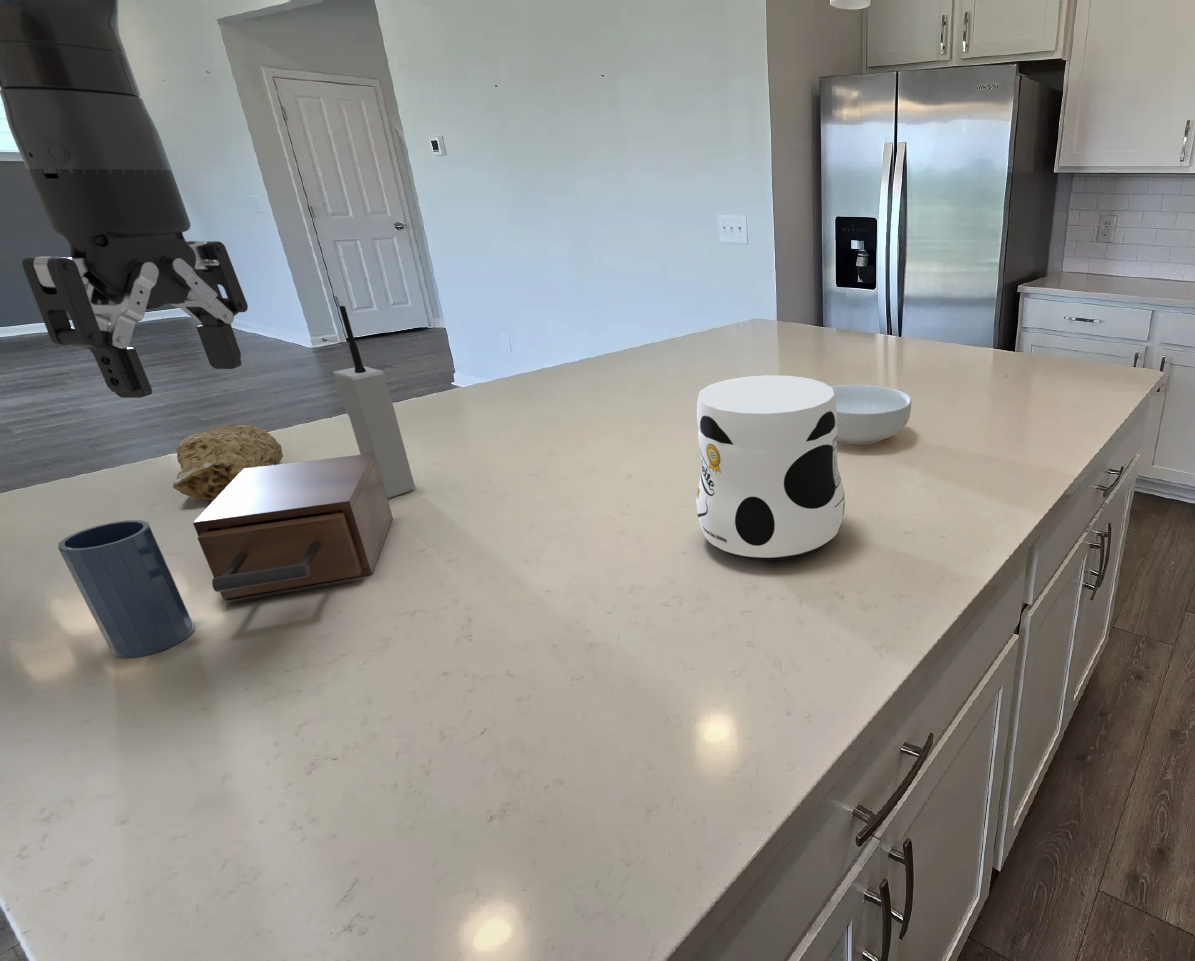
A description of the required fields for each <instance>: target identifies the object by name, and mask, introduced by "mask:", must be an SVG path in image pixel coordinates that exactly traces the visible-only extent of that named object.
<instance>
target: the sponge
mask: <svg viewBox="0 0 1195 961" xmlns="http://www.w3.org/2000/svg"><path fill="white" fill-rule="evenodd" d="M283 456H284V454H283V450H282V445H281V444H280V443H279V442H278V441H277V439H276V438H275V437H274V436H273V435H272V434H270V433H269V432H268V431H267V430H266V429H264V428H261V427H257V426H254V425H253V426H252V425H248V424H247V425H246V424H245V425H244V424H232V425H224V426H222V425H221V426H219V427H217V428H215V429H208V430H205V431H201V432H195V433H193V434H190V435H187V436H186V437H184V438H182V439H181V440H180V441H179V444H178V445H177V448H176V459H177V463H178V464H179V466H180V469H181V470H180V471H179V472H178V473H177V475H176V479H175V480H174V481H173V489H174V490H176V491H178V492H180V494H182V495H186V496H187V497H189V498H190V499H192V500H196V501H197V500H200V499H202V500H205V501H206V500H207V501H208V500H209V501H210V500H215V499H216V498H217V496H218V495H219V494H220V493H221V492H222V491H223V490H224V489H225V488H226V487H227V486H228V485H229V484H230V483H231V482H232V481H233V479H234V478H235V477H236V476H237V475H238V474H239V473H240V472H241V471H242V470H243V469H244V468H253V467H261V466H270V465H278V464H280V462H281V461H282V459H283Z"/></svg>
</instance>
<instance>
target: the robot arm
mask: <svg viewBox="0 0 1195 961" xmlns="http://www.w3.org/2000/svg"><path fill="white" fill-rule="evenodd" d="M140 92H141V91H140V90H139V86H138V84H137V81H136V79H135V76H134V73H133V70H132V68H131V64H130V61H129V58H128V56H127V52H126V50H125V46H124V43H123V42H122V39H121V35H120V30H119V0H0V98H1V101H2V104H3V109H4V113H5V117H6V121H7V125H8V127H9V131H10V133H11V135H12V138H13V140H14V142H15V145H16V147H17V150H18V152H19V155H20V157H21V159H22V162H23V164H24V166H25V168H26V171H27V173H28V176H29V178H30V180H31V182H32V185H33V187H34V191H35V192H36V194H37V196H38V199H39V201H40V204H41V206H42V208H43V211H44V213H45V215H46V217H47V220H48V222H49V225H50V228H51V229H52V230H53V231H54V232H55V233H57V234H59V235H61V236H63V237H64V238H65V240H67V242H68V244H69V251H70V252H69V257H59V256H34V257H33V256H28V257H25V258H24V259H23V260H22V262H21V265H22V268H23V271H24V273H25V276H26V279H27V282H28V285H29V287H30V289H31V291H32V295H33V297H34V300H35V303H36V305H37V307H38V310H39V313H40V315H41V318H42V320H43V323H44V327H45V328H46V331H47V335H48V337H49V339H50V341H51V342H52V343H54V344H55V345H57V346H72V347H80V348H85V349H88V350H89V351H90V352H91V353H92V354H93V357H94V359H95V361H96V364H97V366H98V369H99V370H100V373H101V375H102V378H103V379H104V382H105V384H106V386H107V388H108V390H110V391H111V392H112V393H115V395H116V396H118V397H119V398H123V399H140V398H145V397H148V396H150V395H152V393H153V389H152V385H151V384H150V382H149V379H148V376H147V374H146V372H145V369H144V367H143V364H142V361H141V359H140V356H139V354H138V352H137V350H136V347H129V346H130V344H131V340H132V337H133V333H134V329H135V325H136V324H137V323H139V322H141V321H142V320H143V319H144V317H145V314H146V310H153V309H158V308H161V307H162V306H164V305H170V306H173V307H175V308H179V309H180V310H182V311H183V312H184V313H185V314H187V315H188V316H189V317H190V318H191V319H193V321H195V322H196V323H197V324H200V325H196V326H195V327H196V328H195V329H196V330H197V333H198V336H199V338H200V341H201V344H202V347H203V350H204V352H205V355H206V358H207V360H208V363H209V365H210V366H211V368H213V369H216V370H233V369H237V368H240V367H241V366H242V360H241V358H242V354H241V353H242V352H241V349H240V347H239V344H238V342H237V338H236V335H235V333H234V330H233V327H232V323H233V322H234V320H235V316H236V315H238V314H239V313H246V312H247V311H248V309H249V306H248V302H247V300H246V296H245V295H244V292H243V289H242V287H241V284H240V281H239V279H238V277H237V273H236V271H235V268H234V266H233V263H232V260H231V258H230V255H229V253H228V250H227V247H226V246H225V244H224V243H223V242H221V241H218V240H217V241H216V240H215V241H214V240H213V241H212V240H210V241H208V240H207V241H206V240H188V241H187V240H186V239H185V237H184V234H183V233H184V232H185V233H186V232H188V231H189V230H190V229H191V226H192V224H191V221H190V218H189V215H188V213H187V209H186V207H185V204H184V200H183V199H182V196H181V193H180V190H179V187H178V184H177V181H176V178H175V175H174V172H173V170H172V167H171V164H170V161H169V158H168V156H167V153H166V150H165V147H164V144H163V141H162V139H161V136H160V134H159V130H158V129H157V127H156V125H155V123H154V121H153V119H152V117H151V115H150V113H149V111H148V109H147V107H146V105H145V103H144V100H143V98H142V96H141V93H140ZM85 285H87V286H86V287H85ZM219 286H221V287H222V288H223V289H224V293H225V294H226V297H223V295H222V291H221V289H220V287H219ZM110 302H111V303H113V304H110ZM68 315H69V316H68ZM69 318H70V319H69ZM70 320H71V322H72V324H71V322H70ZM72 325H73V327H72Z"/></svg>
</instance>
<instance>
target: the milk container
mask: <svg viewBox="0 0 1195 961" xmlns="http://www.w3.org/2000/svg"><path fill="white" fill-rule="evenodd" d="M696 423H697V428H698V432H697V437H698V447H699V453H700V475H699V476H700V477H699V482H698V486H697V490H696V492H697V493H696V503H695V505H696V514H697V518H698V522H699V525H700V528H701V532H702V534H703V536H704V537H705V538H706V540H707V541H708V542H709V544H710V545H711V546H712V547H714V548H715V549H717V550H719V551H721V552H723V553H725V554H727V555H729V556H731V557H738V558H743V559H745V560H749V561H771V562H773V561H781V560H787V559H788V560H789V559H795V558H800V557H802V556H804V555H808V554H811V553H813V552H816V551H818V550H820V549H821V548H822V547H825V546H826V545H827V544H829V543H830V542H832V541H833V540H834V538H835V537H836V536H837V534H838V532H839V530H840V529H841V528H842V524H843V519H844V515H845V509H846V494H845V488H844V485H843V480H842V478H841V477H842V476H841V474H840V470H839V466H838V465H839V464H838V440H837V431H838V429H837V425H836V424H837V408H836V400H835V395H834V392H833V389H832V387H830V385H828V384H827V383H825V382H823V381H819V380H816V379H812V378H809V377H803V376H794V375H780V374H779V375H776V374H775V375H774V374H773V375H772V374H770V375H769V374H765V375H749V376H741V377H734V378H729V379H725V380H721V381H718V382H714V383H712V384H709V385H707V386H705V387H704V388H702V389H701V390H699V393H698V395H697V401H696Z"/></svg>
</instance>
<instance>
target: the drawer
mask: <svg viewBox="0 0 1195 961" xmlns="http://www.w3.org/2000/svg"><path fill="white" fill-rule="evenodd" d="M219 529H220V530H218V531H211V532H204V533H202V534H201V535H200V536H199V537H198V536H197V540H198V543H199V546H200V548H201V550H202V552H203V555H204V557H205V560H206V562H207V564H208V567H209V569H210V571H211V574H212V576H213V578H212V580H211V585H212V589H213V590H214V591H215V593H220V596H221V598H222V600H227V599H226V598H231V599H233V598H232V597H237V598H239V597H238V596H243V595H249V594H254V595H256V594H255V593H260V594H262V593H261V592H266V593H268V592H267V591H272V590H277V591H279V590H278V589H283V590H285V589H284V588H289V589H291V588H290V587H295V588H297V587H296V586H301V585H306V586H308V585H307V584H312V585H314V584H313V583H318V584H320V583H319V582H324V581H329V582H331V581H330V580H335V581H337V580H336V579H341V580H343V579H342V578H347V579H349V578H348V577H352V578H354V577H353V576H358V577H360V576H359V575H360V574H361V572H362V568H361V565H360V562H359V558H358V555H357V552H356V549H355V546H354V543H353V540H352V536H351V533H350V530H349V527H348V524H347V521H346V517H345V514H344V513H342V510H339V511H331V512H324V513H317V514H310V515H303V516H296V517H289V518H282V519H275V520H268V521H261V522H254V523H247V524H240V525H233V526H226V527H219ZM324 583H325V582H324ZM301 587H302V586H301ZM272 592H273V591H272ZM249 596H250V595H249ZM243 597H244V596H243Z"/></svg>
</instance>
